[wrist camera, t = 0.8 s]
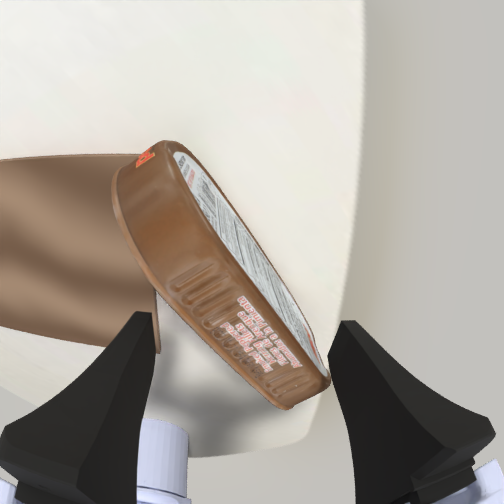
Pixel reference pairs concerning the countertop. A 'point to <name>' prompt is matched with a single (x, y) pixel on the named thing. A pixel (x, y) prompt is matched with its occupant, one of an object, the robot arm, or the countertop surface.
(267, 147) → the countertop surface
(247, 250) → the tin
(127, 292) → the board
